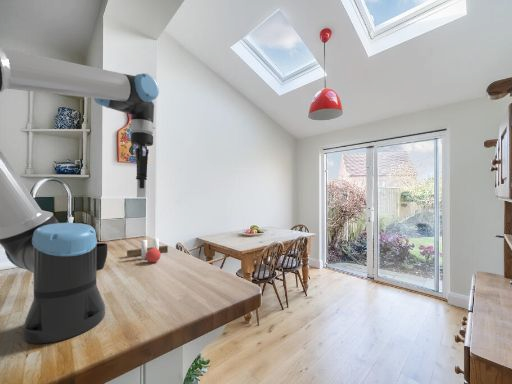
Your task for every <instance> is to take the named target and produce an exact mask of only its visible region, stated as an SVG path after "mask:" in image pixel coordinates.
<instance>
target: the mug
mask: <svg viewBox="0 0 512 384" xmlns="http://www.w3.org/2000/svg"><path fill="white" fill-rule="evenodd" d="M107 256H108V243H106V242H97V245H96V272H97V271H99V270H103V269H104V268H105V263H106V262H107Z"/></svg>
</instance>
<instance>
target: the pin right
mask: <svg viewBox="0 0 512 384" xmlns="http://www.w3.org/2000/svg"><path fill="white" fill-rule="evenodd" d="M159 242H160V239H159V238H153V239H152V247H153V248H155V249H158V250H159V246H160V243H159Z"/></svg>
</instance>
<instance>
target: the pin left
mask: <svg viewBox="0 0 512 384" xmlns="http://www.w3.org/2000/svg"><path fill="white" fill-rule="evenodd" d="M140 242H141V247H140V249H141V252H142V256H141V260H142V261H143V260H144V261H145V260H147V259H146V253H147V248H148V240H147V239H142V240H141V241H140Z"/></svg>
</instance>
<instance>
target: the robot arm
mask: <svg viewBox="0 0 512 384" xmlns="http://www.w3.org/2000/svg"><path fill="white" fill-rule="evenodd" d="M7 89H8V90H17V91H25V92H34V93H44V94H45V93H46V94H54V95H62V96H71V97H72V96H73V97H83V98H89V99H90V98H91V99H93V100H94V102H95V104H97V105H99V106H102V107H105V108H107V109H111V110H114V111H117V112H122V113H124V114H128V115H130V118H131V119H130V132H131V133H130V143H131V144H132V145H135V146H137V148H135V156H136V157H135V161H136V177H135V180H136V198H146V193H147V192H146V188H147V186H146V185H147V180H148V178H147V177H148V176H147V174H148V157H149V156H148V155H149V149H148V147H151V146H153V145H154V135H153V134H154V130H156V127H155V126H154V120H155V119H154V118H155V117H154V115H155V99H157V98H158V96H159V93H160V90H159V89H160V88H159V85H158V82H157V81H156V80H155V78H154V77H153V76H151V75H150V74H149V73H138V74H136V75H133V74H127V73H122V72H117V71H113V70H107V69H102V68H98V67H94V66H89V65H84V64H79V63H74V62H71V61H65V60H61V59H57V58H53V57H52V58H51V57H46V56H42V55H37V54H33V53H28V52H24V51H19V50H15V49H10V48H7V47H6V48H5V47H1V46H0V94H2V93H3V92H4V91H5V90H7ZM97 243H98V239H97V233H96V230H95V228H94V227H93V226H91V225H89V224H86V223H81V222H80V223H79V222H78V223H75V222H59V220H58V219H57V218H56V217H55V215H54V214H53V212H51V211H46V210H43V209H42V208H41V207H40V206H39V204H38V203H37V200H35V198H34V197H33V195H32V194H31V193H30V191H29V190H28V189H27V187H26V186H25V184H24V183H23V181H22V179H21V178H20V177H19V175H18V173H17V172H16V171H15V169H14V168H13V167H12V165H11V164H10V162H9V161H8V159H7V158H6V156H5V155H4V153H3V151H1V150H0V245H1V246H2V248H3V249H4V253H5V255H6V258H7V259H8V261H9V262H11V264H12V265H14V266H16V267H17V268H20V269H23V270H26V271H28V272H31V273H33V278H32V279H33V300H32V303H31V305H30V308H29V310H28V313H27V315H26V317H25V321H24V322H23V325H22V338H23V340H24V341H25V342H27V343H29V344H30V343H31V344H36V345H37V344H49V343H50V344H51V343H54V342H59V341H63V340H66V339H69V338H73V337H75V336H78V335H81V334H83V333H85V332H86V331H89V330H91V329H93V328H94V327H95V326H97V325H98V324H99V323H101V321H103V319H104V318H105V316H106V305H105V302H104V300H103V298H102V295H101V293H100V291H99V288H98V285H97V284H98V283H97V271H96V245H97Z"/></svg>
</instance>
